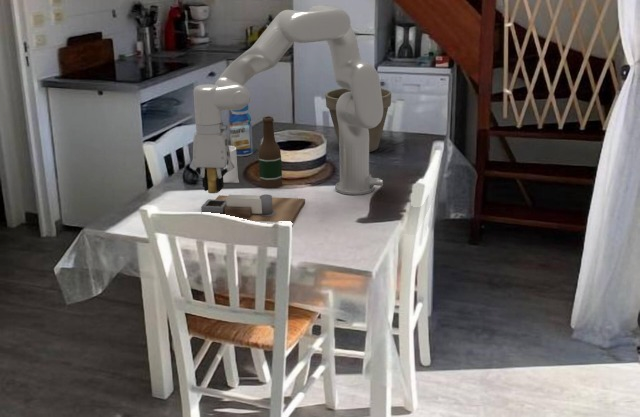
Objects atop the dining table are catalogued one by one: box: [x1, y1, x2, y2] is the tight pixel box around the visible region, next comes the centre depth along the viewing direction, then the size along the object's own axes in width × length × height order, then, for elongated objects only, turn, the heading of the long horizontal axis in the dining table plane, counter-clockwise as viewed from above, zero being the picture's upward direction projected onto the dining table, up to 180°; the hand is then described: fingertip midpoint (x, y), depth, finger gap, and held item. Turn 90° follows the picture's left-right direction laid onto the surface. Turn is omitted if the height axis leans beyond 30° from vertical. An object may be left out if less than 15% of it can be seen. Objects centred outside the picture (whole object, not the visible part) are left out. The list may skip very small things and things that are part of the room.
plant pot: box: [324, 87, 392, 153], centre depth 283 cm, size 25×25×22 cm
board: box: [214, 194, 306, 224], centre depth 223 cm, size 28×20×4 cm
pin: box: [207, 168, 220, 194], centre depth 217 cm, size 3×3×8 cm
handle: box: [226, 194, 273, 214], centre depth 218 cm, size 13×4×5 cm, turn 81°
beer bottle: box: [258, 115, 283, 190], centre depth 239 cm, size 8×8×24 cm
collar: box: [200, 199, 227, 214], centre depth 221 cm, size 7×7×2 cm
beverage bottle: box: [228, 104, 254, 157], centre depth 280 cm, size 8×8×20 cm
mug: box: [223, 145, 240, 184], centre depth 247 cm, size 12×8×12 cm
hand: (213, 189), depth 219 cm, fingers closed on pin, 3 cm apart
